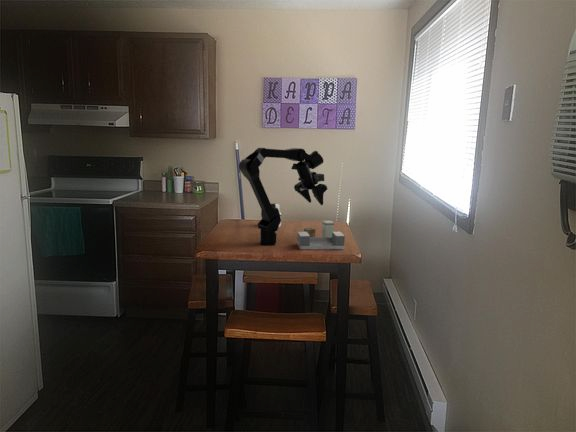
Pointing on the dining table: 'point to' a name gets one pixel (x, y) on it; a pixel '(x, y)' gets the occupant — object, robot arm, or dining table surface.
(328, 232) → the block
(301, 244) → the block
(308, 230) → the walnut block
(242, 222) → the dining table surface
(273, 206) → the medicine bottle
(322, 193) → the robot arm
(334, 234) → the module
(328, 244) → the grey base plate
